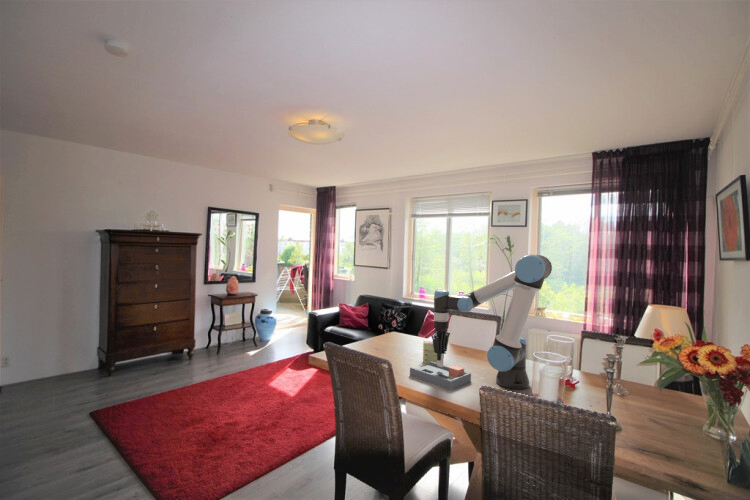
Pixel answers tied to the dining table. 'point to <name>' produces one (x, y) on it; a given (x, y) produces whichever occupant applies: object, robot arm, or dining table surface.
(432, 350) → the box
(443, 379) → the box
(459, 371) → the block
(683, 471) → the dining table surface
